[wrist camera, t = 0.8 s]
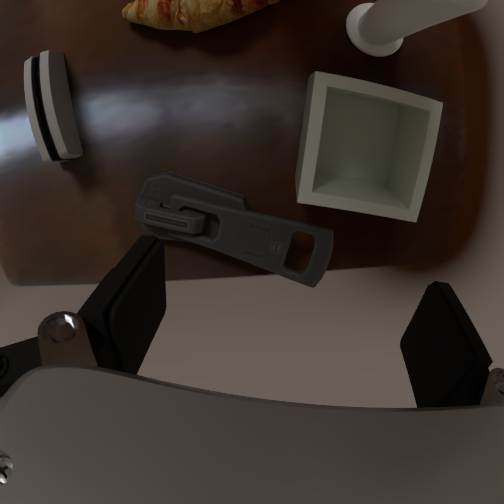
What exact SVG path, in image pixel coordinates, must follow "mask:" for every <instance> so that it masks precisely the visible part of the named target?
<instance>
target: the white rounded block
mask: <svg viewBox="0 0 504 504" xmlns="http://www.w3.org/2000/svg"><path fill="white" fill-rule="evenodd" d="M24 88H25V99H26V106H27V111H28V116H29V120H30V125H31V128H32V132H33V135H34V138H35V141H36V144H37V147H38V149H39V152H40V154H41V157H42V159H43V161H44V162H45V163H59V162H65V161H69V159H70V158H78V157H80V156H81V155H83V151H82V147H81V143H80V138H79V134H78V130H77V125H76V121H75V116H74V111H73V106H72V101H71V96H70V91H69V85H68V79H67V73H66V67H65V60H64V53H63V52H59V51H52V50H48V51H44V52H41V54H40V55H39V56H32V57H31V58H29V59H28V60H26V61H25V64H24Z"/></svg>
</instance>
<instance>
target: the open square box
mask: <svg viewBox="0 0 504 504" xmlns="http://www.w3.org/2000/svg"><path fill="white" fill-rule="evenodd" d="M442 106H443V103H442V102H439V101H436V100H433V99H430V98H426V97H423V96H420V95H417V94H413V93H410V92H407V91H403V90H400V89H396V88H392V87H388V86H385V85H381V84H377V83H372V82H368V81H364V80H359V79H355V78H350V77H345V76H340V75H335V74H329V73H324V72H318V71H315V72H314V73H312V74H311V75H310V76H309V77H308V82H307V91H306V99H305V107H304V114H303V122H302V130H301V137H300V145H299V152H298V159H297V166H296V173H295V182H296V195H297V203H303V204H310V205H317V206H323V207H330V208H336V209H343V210H349V211H355V212H361V213H367V214H372V215H378V216H384V217H389V218H395V219H400V220H405V221H411V222H417V218H418V215H419V211H420V207H421V204H422V200H423V196H424V193H425V189H426V185H427V181H428V177H429V172H430V168H431V164H432V159H433V155H434V150H435V145H436V140H437V135H438V130H439V124H440V118H441V112H442Z"/></svg>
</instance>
